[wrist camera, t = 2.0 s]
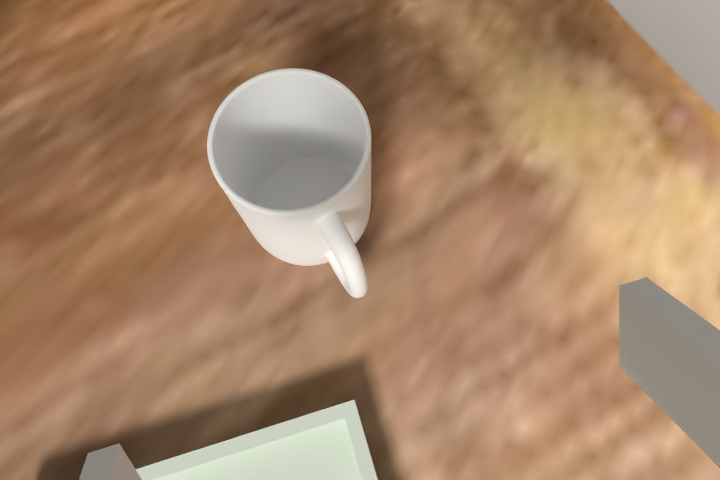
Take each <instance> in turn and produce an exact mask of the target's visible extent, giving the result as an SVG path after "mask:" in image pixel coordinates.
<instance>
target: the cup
mask: <svg viewBox="0 0 720 480" xmlns="http://www.w3.org/2000/svg"><path fill="white" fill-rule="evenodd" d="M207 153H208V159H209V163H210V167H211V169H212V172H213V174H214V176H215V178H216V180H217V181H218V183H219V184H220V186H221V187H222V189H223V190H224V192H225V193H226V195H227V196H228V198H229V199H230V201H231V202H232V204H233V205H234V207H235V208H236V210H237V211H238V213H239V214H240V216H241V217H242V219H243V220H244V222H245V223H246V225H247V226H248V228H249V229H250V231H251V232H252V234H253V235H254V237H255V238H256V240H257V241H258V242H259V243H260V244H261V246H262V247H263V248H264V249H265V250H267V251H268V252H269V253H270V254H272V255H273V256H275V257H277V258H278V259H281V260H283V261H285V262H288V263H291V264H296V265H305V266H310V265H319V264H323V263H327V262H329V263H330V265H331V267H332V268H333V270H334V272H335V273H336V275H337V277H338V278H339V280H340V282H341V283H342V285H343V286H344V288H345V289H346V291H347V292H348V293H349V294H350V295H351V296H353V297H354V298H360V297H363V296H364V295H365V294H366V292H367V287H368V284H367V278H366V274H365V270H364V267H363V264H362V261H361V258H360V255H359V253H358V250H357V248H356V246H355V244H356V243H357V242H358V240H359V239H360V237H361V236H362V234H363V232H364V230H365V228H366V226H367V223H368V220H369V216H370V209H371V129H370V124H369V120H368V117H367V114H366V112H365V110H364V108H363V106H362V104H361V103H360V101H359V100H358V98H357V97H356V96H355V95H354V94H353V93H352V92H351V91H350V90H349V89H348V88H347V87H346V86H345V85H343V84H342V83H340V82H339V81H337V80H336V79H334V78H332V77H330V76H328V75H325V74H323V73H320V72H317V71H313V70H308V69H298V68H288V69H278V70H273V71H269V72H266V73H263V74H260V75H257V76H255V77H253V78H251V79H249V80H247V81H246V82H244V83H242V84H241V85H240V86H238V87H237V88H236V89H235V90H233V91H232V92H231V93H230V94H229V95H228V96H227V97H226V98H225V100H224V101H223V102H222V103H221V105H220V106H219V108H218V110H217V111H216V113H215V115H214V117H213V120H212V122H211V125H210V128H209V132H208V138H207Z"/></svg>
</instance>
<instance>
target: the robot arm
mask: <svg viewBox="0 0 720 480" xmlns="http://www.w3.org/2000/svg"><path fill="white" fill-rule="evenodd" d="M619 363H620V367H621V368H622V369H623V370H624V371H625V372H626V373H627V374H628V375H629V376H630V377H631V378H632V379H633V380H634V381H635V382H636V383H637V384H638V385H639V386H640V388H641V389H642V390H643V391H644V392H645V393H646V394H647V395H648V396H649V397H650V398H651V399H652V400H653V401H654V402H655V403H656V404H657V405H658V406H659V407H660V408H661V409H662V410H663V411H664V412H665V413H666V414H667V415H668V416H669V417H670V418H671V419H672V420H673V421H674V422H675V423H676V424H677V425H678V426H679V427H680V428H681V429H682V430H683V431H684V432H685V433H686V434H687V435H688V436H689V437H690V438H691V439H692V440H693V441H694V442H695V443H696V444H697V445H698V446H699V447H700V448H701V449H702V450H703V451H704V452H705V453H706V454H707V455H708V456H709V457H710V458H711V459H712V461H713V462H714V463H715V464H716V465H717V466H718V467H719V468H720V330H718V329H717V328H716V327H714V326H713V325H711V324H710V323H709V322H707V321H706V320H704V319H703V318H702V317H700V316H699V315H698V314H696V313H695V312H693V311H692V310H691V309H689V308H688V307H687V306H685V305H684V304H682V303H681V302H680V301H678V300H677V299H675V298H674V297H673V296H671V295H670V294H669V293H667V292H666V291H664V290H663V289H662V288H660V287H659V286H658V285H656V284H655V283H653V282H652V281H651V280H649V279H648V278H643V279H640V280H637V281H633V282H630V283H627V284H624V285H621V286H619ZM79 480H142V479H141V477H140V476H139V474H138V473H137V471H136V469H135V468H134V466H133V465H132V463H131V461H130V460H129V458H128V456H127V455H126V453H125V452H124V450H123V448H122V447H121V445H120V444H116V445H112V446H109V447H106V448H103V449H100V450H96V451H93V452H90V453H88V455H87V458H86V460H85V463H84V466H83V469H82V472H81V475H80V478H79Z"/></svg>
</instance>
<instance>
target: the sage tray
mask: <svg viewBox="0 0 720 480" xmlns="http://www.w3.org/2000/svg"><path fill="white" fill-rule="evenodd" d="M136 471H137V473H138V474H139V476H140V477H141V479H142V480H378V476H377V473H376V469H375V466H374V463H373V459H372V456H371V452H370V449H369V445H368V442H367V438H366V435H365V432H364V428H363V425H362V421H361V418H360V414H359V411H358V407H357V404H356V401H355V400H351V401H348V402H345V403H342V404H339V405H336V406H332V407H329V408H326V409H323V410H320V411H317V412H314V413H310V414H307V415H304V416H301V417H298V418H295V419H292V420H289V421H285V422H282V423H279V424H276V425H273V426H270V427H267V428H263V429H260V430H257V431H254V432H251V433H248V434H245V435H242V436H238V437H235V438H232V439H229V440H226V441H223V442H220V443H217V444H213V445H210V446H207V447H204V448H201V449H198V450H195V451H191V452H188V453H185V454H182V455H179V456H176V457H173V458H170V459H166V460H163V461H160V462H157V463H154V464H151V465H148V466H144V467H141V468H138V469H136Z"/></svg>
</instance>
